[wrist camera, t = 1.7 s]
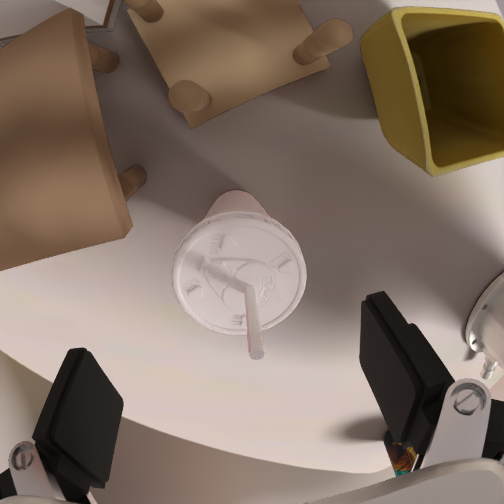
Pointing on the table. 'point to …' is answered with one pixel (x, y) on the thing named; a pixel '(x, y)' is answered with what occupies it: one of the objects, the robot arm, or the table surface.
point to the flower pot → (438, 85)
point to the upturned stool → (231, 49)
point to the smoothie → (239, 270)
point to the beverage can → (399, 455)
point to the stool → (57, 146)
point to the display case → (49, 4)
